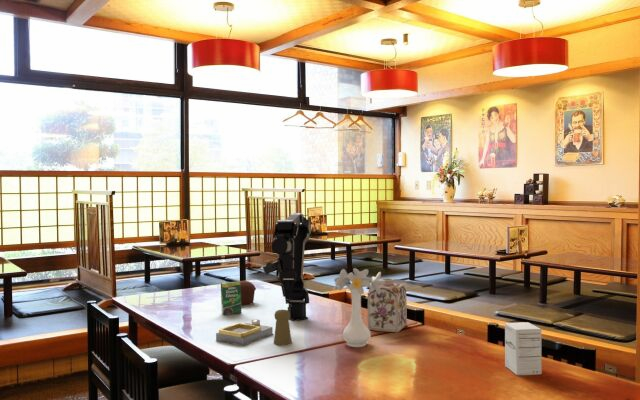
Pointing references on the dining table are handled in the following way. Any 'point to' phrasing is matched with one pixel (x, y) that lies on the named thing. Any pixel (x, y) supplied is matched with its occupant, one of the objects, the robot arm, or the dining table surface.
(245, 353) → the dining table surface
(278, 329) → the cork
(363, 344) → the flower vase
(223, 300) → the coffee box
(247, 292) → the muffin
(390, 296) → the decorative jar
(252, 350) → the dining table surface
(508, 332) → the supplement box
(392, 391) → the dining table surface
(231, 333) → the grey base with knob
